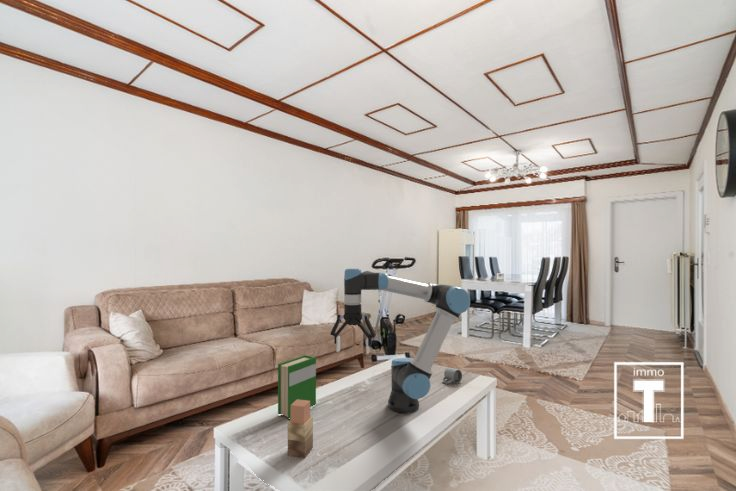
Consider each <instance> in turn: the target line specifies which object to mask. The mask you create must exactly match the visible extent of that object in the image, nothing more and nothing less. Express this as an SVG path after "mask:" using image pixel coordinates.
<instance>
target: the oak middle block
mask: <svg viewBox="0 0 736 491" xmlns="http://www.w3.org/2000/svg"><path fill="white" fill-rule="evenodd" d="M313 418H314V417H313V416H310V419H309V420H308V421H307V422H306V423H305V424H297V423H290V420H288V422H287V440H288V439H289V440H295V441H302V442H305V441H306V440H307V439H308V438H309V437H310V435H311V434H312V433H313V434H314V419H313Z"/></svg>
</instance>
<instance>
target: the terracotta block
mask: <svg viewBox="0 0 736 491" xmlns="http://www.w3.org/2000/svg"><path fill="white" fill-rule="evenodd" d="M310 417H311V409H310V401H307V400H299V399H297V400H296V401H295V402H294V403H292V404H291V411H290V420H289V421H290V423H297V424H305V423H306V422H307V421H308V420H309V419H310Z"/></svg>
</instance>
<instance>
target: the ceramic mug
mask: <svg viewBox="0 0 736 491" xmlns="http://www.w3.org/2000/svg"><path fill="white" fill-rule="evenodd" d="M443 376H444V377H443V378H442V381H443V383H444V384H445V385H448V384H451V383H453V384H459V383H460V382H461V381H462V379H463V372H462V371H461V370H460V369H458V368H452V367H447V368H446V369H445V370H444V373H443ZM445 380H447V381H445Z"/></svg>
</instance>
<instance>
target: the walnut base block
mask: <svg viewBox="0 0 736 491" xmlns="http://www.w3.org/2000/svg"><path fill="white" fill-rule="evenodd" d="M312 448H313V449H314V432H313V433H312V434H311V435H310V437H309V438H308V439H307V440H306V441H305V442H302V441H295V440H289V439H288V438H287V456H288V457H295V458H300V459H306V458H307V457H308V455H309V454H310V453H311V452H312V450H313V449H312ZM310 451H311V452H310Z"/></svg>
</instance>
